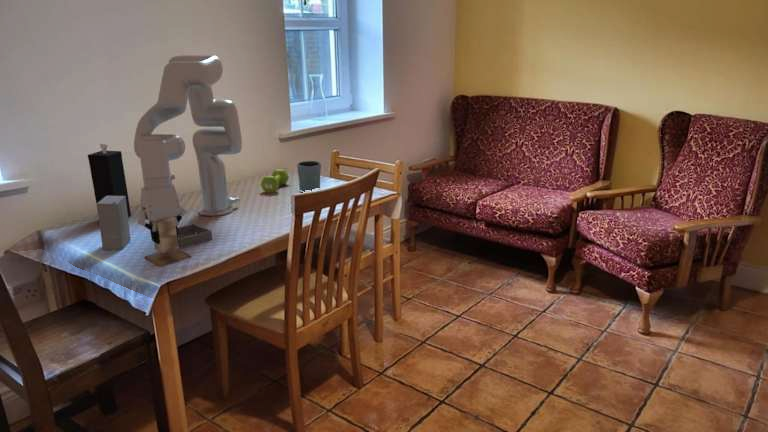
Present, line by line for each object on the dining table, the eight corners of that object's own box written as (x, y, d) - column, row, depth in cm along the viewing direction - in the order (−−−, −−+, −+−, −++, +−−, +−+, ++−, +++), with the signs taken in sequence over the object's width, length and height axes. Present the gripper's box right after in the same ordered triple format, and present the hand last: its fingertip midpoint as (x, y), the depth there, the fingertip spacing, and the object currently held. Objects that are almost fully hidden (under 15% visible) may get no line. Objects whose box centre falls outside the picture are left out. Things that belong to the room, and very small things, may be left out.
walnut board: (175, 249, 180) (175, 247, 180) (191, 257, 174) (191, 255, 174) (144, 258, 174) (144, 256, 173) (159, 266, 167) (159, 264, 167)
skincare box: (111, 241, 188) (103, 195, 183) (133, 240, 188) (126, 194, 183) (101, 250, 180) (93, 202, 175) (125, 249, 180) (117, 202, 175)
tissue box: (118, 222, 206) (105, 146, 198) (99, 221, 208) (85, 145, 199) (131, 216, 214) (119, 142, 205) (112, 215, 215) (100, 141, 206)
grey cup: (302, 187, 250) (300, 160, 247) (324, 187, 249) (323, 160, 245) (295, 193, 241) (294, 165, 237) (319, 194, 240) (317, 166, 236)
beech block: (170, 244, 176) (166, 213, 173) (178, 248, 173) (174, 216, 170) (155, 249, 173) (150, 217, 170) (162, 253, 169) (158, 220, 166)
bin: (195, 231, 196) (194, 223, 195) (212, 239, 189) (211, 230, 188) (164, 240, 188) (162, 231, 187) (180, 248, 181) (179, 239, 180)
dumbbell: (277, 194, 241) (276, 177, 239) (259, 193, 242) (258, 176, 240) (290, 184, 256) (289, 168, 254) (273, 183, 258) (272, 168, 255)
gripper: (178, 174, 175) (185, 230, 180) (122, 185, 163) (132, 244, 169) (190, 178, 170) (197, 235, 175) (134, 189, 158) (143, 251, 164)
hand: (165, 239), depth 172 cm, fingers closed on beech block, 5 cm apart
